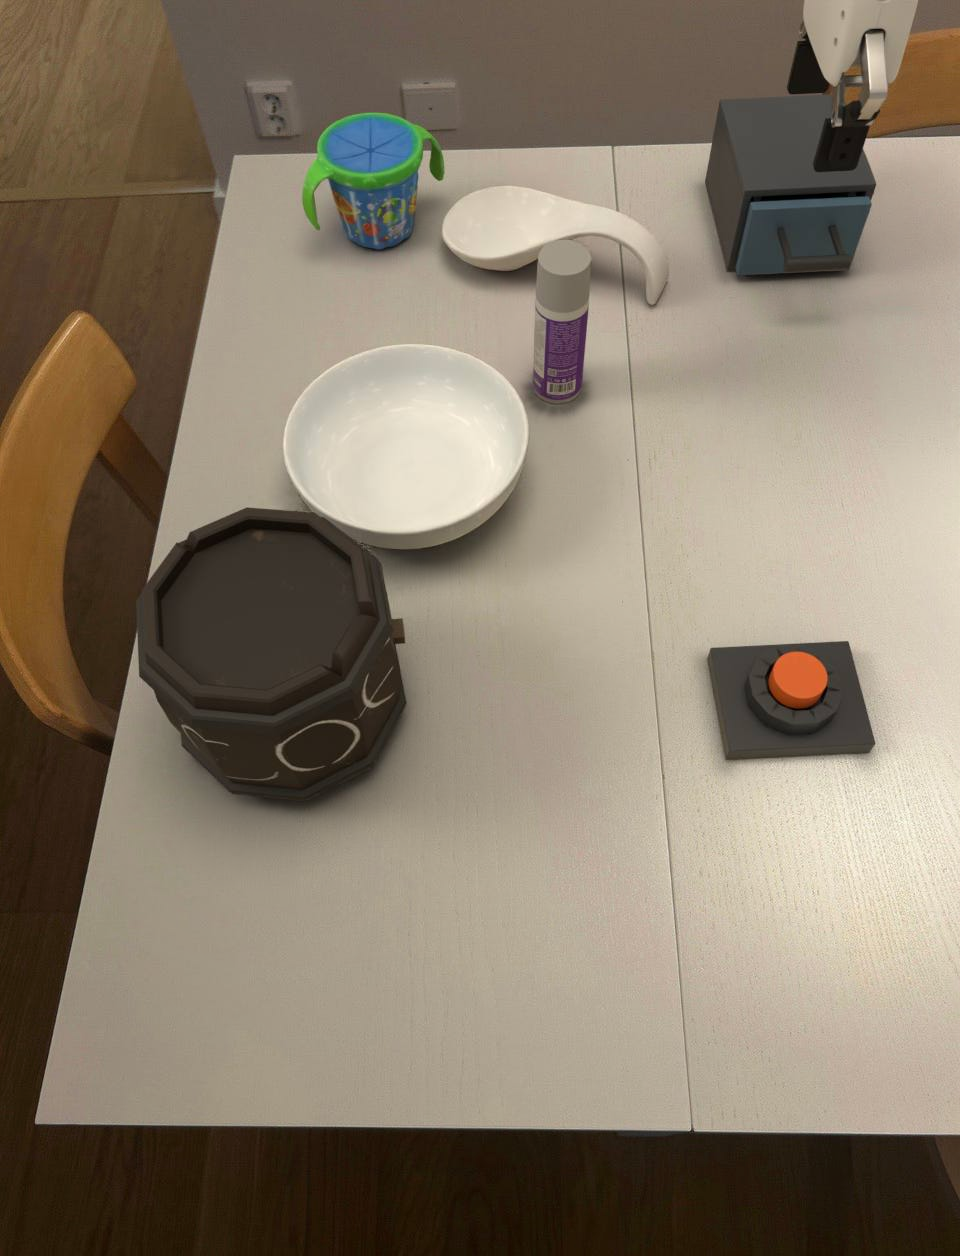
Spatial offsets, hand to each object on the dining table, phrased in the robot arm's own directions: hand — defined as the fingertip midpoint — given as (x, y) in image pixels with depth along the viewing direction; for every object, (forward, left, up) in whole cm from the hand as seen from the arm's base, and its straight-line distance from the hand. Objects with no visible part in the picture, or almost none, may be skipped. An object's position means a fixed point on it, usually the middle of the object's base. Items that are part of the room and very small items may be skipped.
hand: (819, 129), depth 82 cm
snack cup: (+36, -22, -24) cm, 49 cm away
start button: (+4, +37, -21) cm, 43 cm away
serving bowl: (+33, +13, -24) cm, 43 cm away
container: (+19, +2, -24) cm, 31 cm away
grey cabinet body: (-6, -20, -24) cm, 32 cm away
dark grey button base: (+4, +37, -24) cm, 44 cm away
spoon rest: (+18, -15, -24) cm, 34 cm away
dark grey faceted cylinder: (+42, +35, -24) cm, 60 cm away
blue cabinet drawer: (-6, -15, -23) cm, 28 cm away
